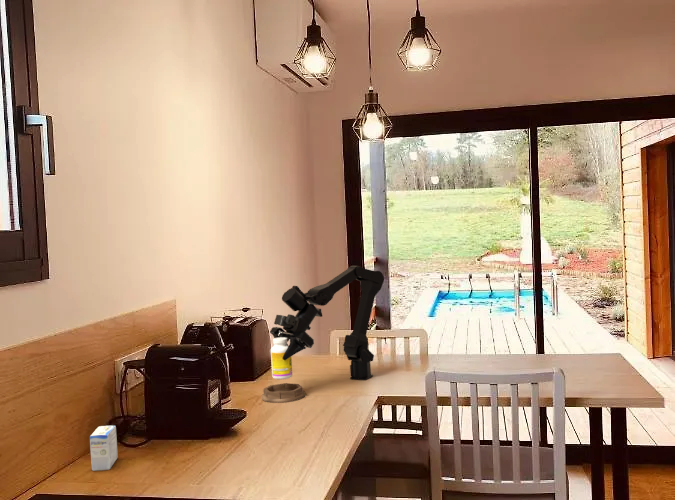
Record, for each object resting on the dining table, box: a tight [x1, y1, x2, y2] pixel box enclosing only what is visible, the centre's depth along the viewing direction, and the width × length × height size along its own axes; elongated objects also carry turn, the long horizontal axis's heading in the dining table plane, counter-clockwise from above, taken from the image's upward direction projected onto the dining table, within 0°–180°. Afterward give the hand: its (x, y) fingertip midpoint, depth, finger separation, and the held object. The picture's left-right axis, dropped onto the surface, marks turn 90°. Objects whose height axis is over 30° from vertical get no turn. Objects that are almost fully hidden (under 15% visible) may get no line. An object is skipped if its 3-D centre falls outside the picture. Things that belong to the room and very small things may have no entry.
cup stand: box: [261, 382, 305, 404], centre depth 222 cm, size 14×14×3 cm
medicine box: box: [89, 425, 118, 472], centre depth 166 cm, size 8×4×9 cm, turn 5°
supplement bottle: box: [270, 337, 293, 380], centre depth 221 cm, size 7×7×13 cm
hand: (277, 358), depth 220 cm, fingers closed on supplement bottle, 6 cm apart
